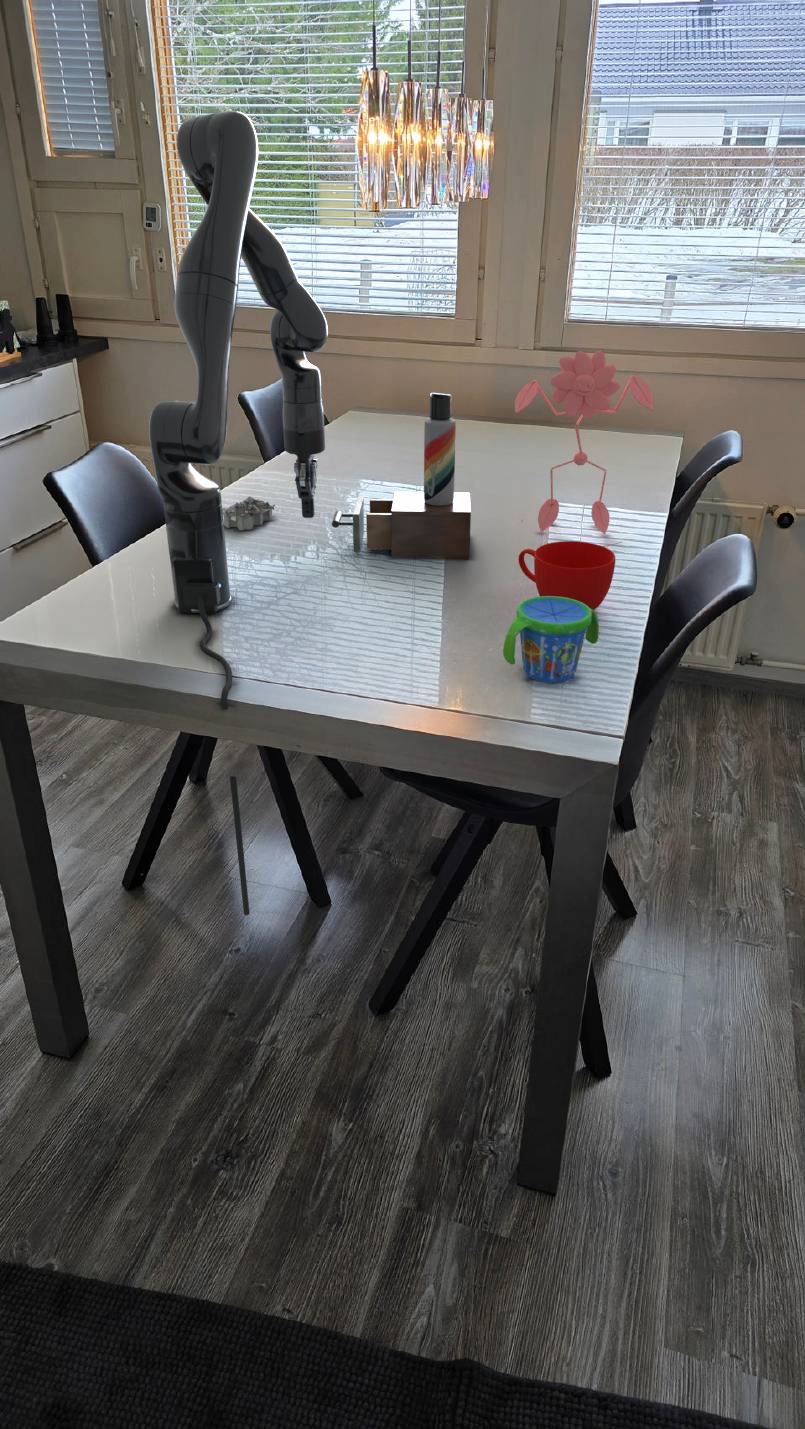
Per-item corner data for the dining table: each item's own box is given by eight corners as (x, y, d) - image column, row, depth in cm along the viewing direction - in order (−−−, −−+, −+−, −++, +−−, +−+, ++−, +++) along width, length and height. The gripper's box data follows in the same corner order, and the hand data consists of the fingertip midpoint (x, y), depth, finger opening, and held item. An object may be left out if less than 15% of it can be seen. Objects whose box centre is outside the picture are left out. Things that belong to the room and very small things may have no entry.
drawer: (331, 551, 189) (329, 514, 185) (337, 532, 198) (335, 496, 195) (425, 552, 188) (425, 515, 184) (426, 533, 197) (426, 497, 194)
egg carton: (245, 532, 201) (244, 513, 199) (217, 526, 205) (215, 506, 203) (279, 518, 209) (277, 499, 207) (251, 512, 212) (249, 493, 210)
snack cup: (575, 650, 153) (581, 587, 148) (614, 678, 145) (622, 614, 140) (484, 668, 148) (487, 604, 143) (520, 699, 139) (524, 632, 134)
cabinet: (391, 558, 188) (391, 511, 184) (394, 536, 199) (394, 491, 194) (469, 559, 188) (470, 512, 183) (468, 537, 198) (469, 492, 194)
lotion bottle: (418, 503, 187) (419, 393, 178) (432, 495, 192) (433, 388, 182) (445, 508, 185) (448, 397, 175) (458, 499, 190) (461, 391, 180)
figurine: (510, 520, 207) (519, 342, 190) (637, 527, 203) (658, 346, 186) (503, 545, 194) (512, 356, 177) (639, 553, 190) (661, 361, 173)
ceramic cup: (537, 585, 176) (541, 530, 171) (624, 609, 167) (630, 552, 162) (495, 608, 167) (498, 551, 162) (584, 634, 158) (589, 575, 153)
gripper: (288, 416, 189) (293, 505, 197) (278, 433, 177) (284, 528, 186) (327, 416, 188) (331, 506, 197) (320, 434, 177) (324, 528, 185)
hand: (308, 516), depth 191 cm, fingers closed
